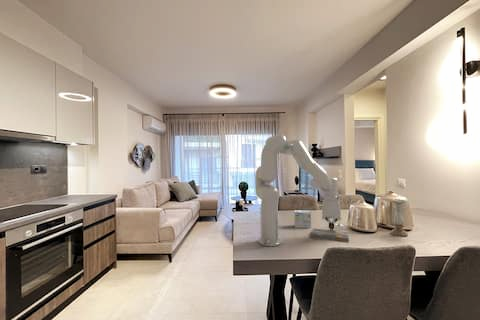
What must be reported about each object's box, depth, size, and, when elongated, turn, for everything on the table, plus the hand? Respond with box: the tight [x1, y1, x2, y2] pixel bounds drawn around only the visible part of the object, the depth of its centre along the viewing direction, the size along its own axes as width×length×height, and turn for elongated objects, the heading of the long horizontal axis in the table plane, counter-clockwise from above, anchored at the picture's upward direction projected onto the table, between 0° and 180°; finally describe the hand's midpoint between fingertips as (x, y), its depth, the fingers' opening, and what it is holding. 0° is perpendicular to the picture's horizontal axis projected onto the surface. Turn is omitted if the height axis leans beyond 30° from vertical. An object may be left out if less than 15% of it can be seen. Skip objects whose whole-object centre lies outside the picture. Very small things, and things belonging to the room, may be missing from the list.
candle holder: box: [389, 199, 409, 237], centre depth 137 cm, size 9×9×20 cm
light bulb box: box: [293, 209, 312, 229], centre depth 155 cm, size 11×7×11 cm, turn 84°
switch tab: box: [334, 222, 344, 234], centre depth 132 cm, size 4×4×6 cm
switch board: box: [310, 227, 350, 243], centre depth 134 cm, size 12×20×3 cm, turn 66°
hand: (331, 229), depth 134 cm, fingers closed
